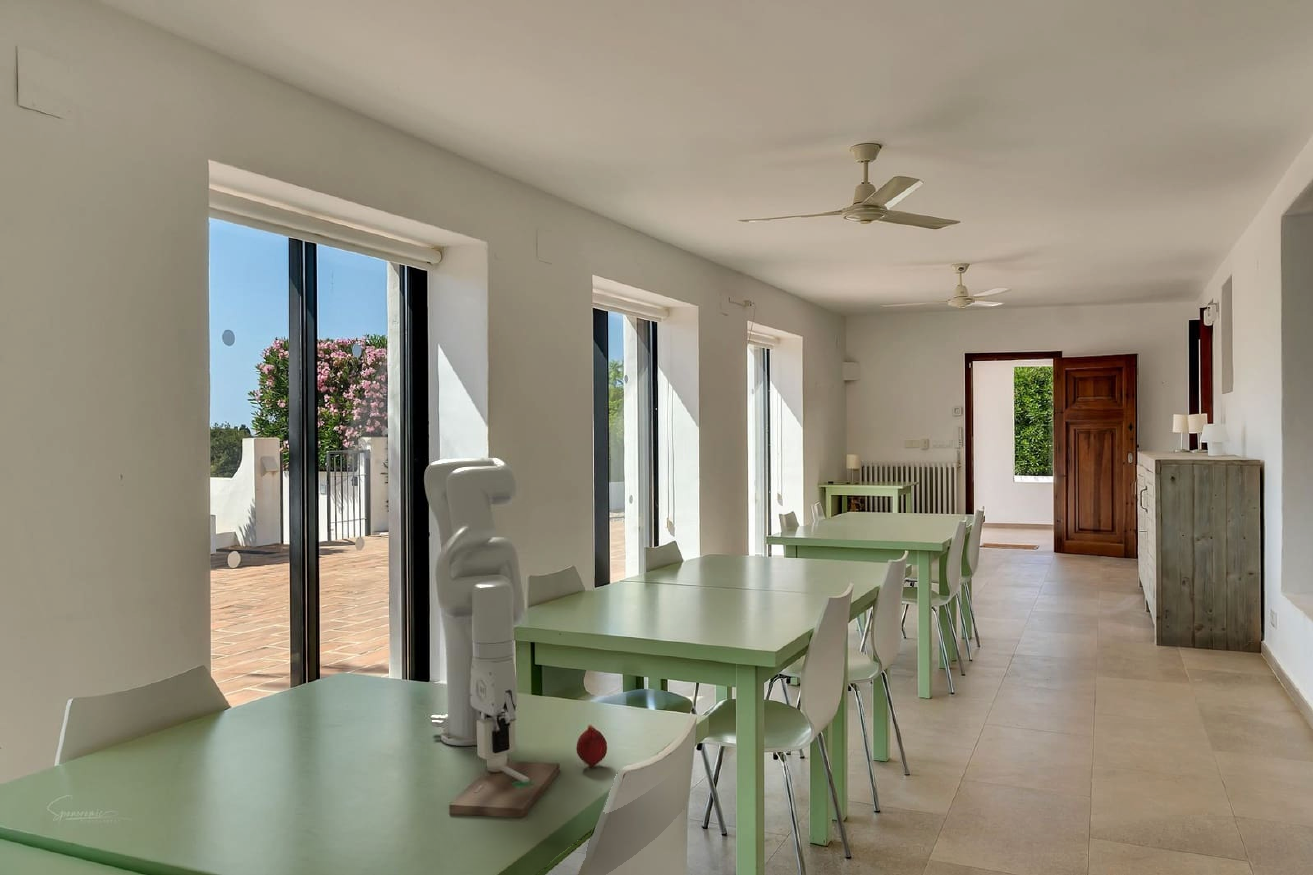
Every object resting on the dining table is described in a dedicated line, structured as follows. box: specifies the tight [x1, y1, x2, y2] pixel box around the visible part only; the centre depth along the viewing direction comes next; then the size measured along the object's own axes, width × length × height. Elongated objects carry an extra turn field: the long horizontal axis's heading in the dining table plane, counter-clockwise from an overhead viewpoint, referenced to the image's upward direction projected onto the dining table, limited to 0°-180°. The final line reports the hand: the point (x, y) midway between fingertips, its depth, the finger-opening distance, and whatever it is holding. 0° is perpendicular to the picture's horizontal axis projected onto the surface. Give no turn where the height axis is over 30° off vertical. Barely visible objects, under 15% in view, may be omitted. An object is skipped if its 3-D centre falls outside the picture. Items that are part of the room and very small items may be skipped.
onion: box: [575, 723, 608, 768], centre depth 173 cm, size 6×6×8 cm
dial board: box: [448, 760, 561, 819], centre depth 162 cm, size 13×21×2 cm, turn 169°
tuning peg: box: [476, 716, 529, 782], centre depth 165 cm, size 12×6×9 cm, turn 39°
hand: (496, 747), depth 168 cm, fingers closed on tuning peg, 2 cm apart
